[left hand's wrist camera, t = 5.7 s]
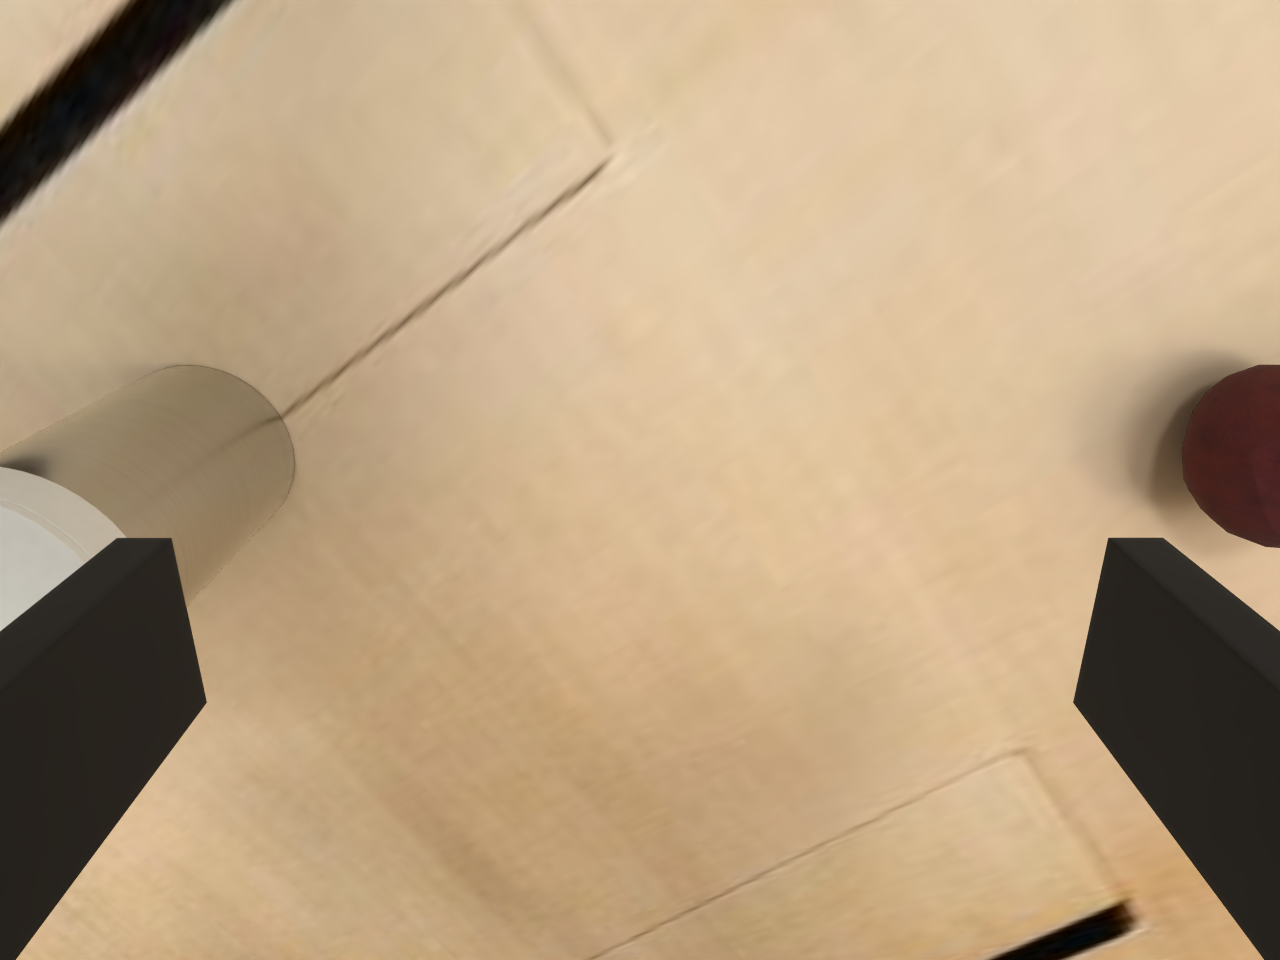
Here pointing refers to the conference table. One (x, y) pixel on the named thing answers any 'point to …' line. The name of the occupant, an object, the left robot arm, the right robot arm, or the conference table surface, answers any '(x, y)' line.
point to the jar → (173, 464)
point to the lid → (43, 538)
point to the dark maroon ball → (1238, 454)
